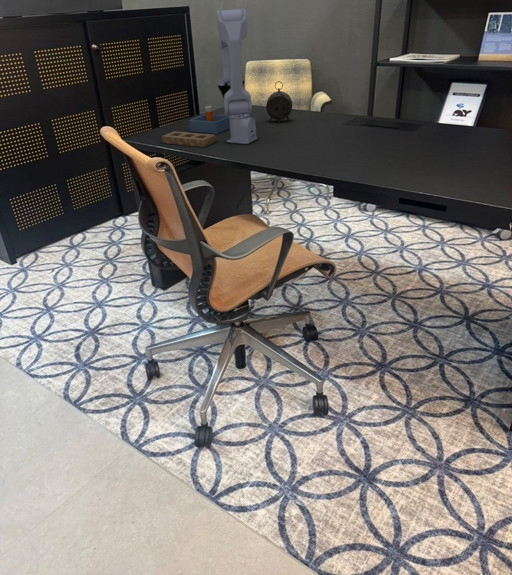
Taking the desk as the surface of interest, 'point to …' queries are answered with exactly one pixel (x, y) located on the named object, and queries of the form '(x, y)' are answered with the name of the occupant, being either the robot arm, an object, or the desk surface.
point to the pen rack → (189, 139)
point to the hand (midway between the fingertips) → (232, 101)
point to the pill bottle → (209, 113)
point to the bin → (209, 124)
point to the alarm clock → (279, 105)
